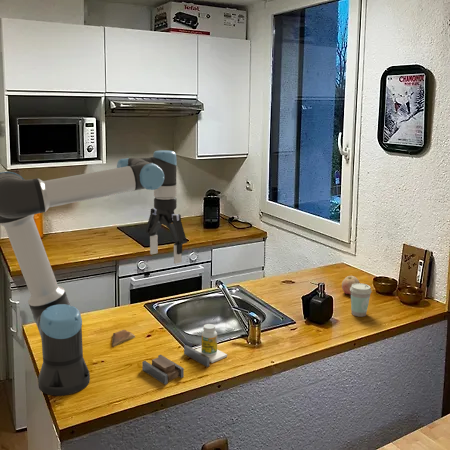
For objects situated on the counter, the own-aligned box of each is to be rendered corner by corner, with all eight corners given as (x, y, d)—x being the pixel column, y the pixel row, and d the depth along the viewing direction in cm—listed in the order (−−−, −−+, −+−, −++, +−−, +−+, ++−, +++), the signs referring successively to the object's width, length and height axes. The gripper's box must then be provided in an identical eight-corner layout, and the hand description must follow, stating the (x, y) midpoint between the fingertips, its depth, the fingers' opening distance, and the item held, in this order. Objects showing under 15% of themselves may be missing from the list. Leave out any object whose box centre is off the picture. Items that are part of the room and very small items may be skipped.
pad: (211, 363, 182) (211, 360, 182) (192, 352, 189) (192, 350, 189) (227, 356, 187) (227, 354, 187) (207, 346, 194) (207, 344, 194)
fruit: (337, 292, 249) (338, 275, 247) (351, 289, 253) (352, 273, 251) (349, 297, 243) (350, 280, 241) (362, 295, 246) (364, 278, 244)
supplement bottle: (218, 349, 190) (218, 323, 188) (215, 356, 185) (216, 330, 183) (202, 347, 191) (203, 322, 189) (200, 355, 186) (200, 328, 183)
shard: (112, 348, 192) (112, 344, 191) (98, 342, 196) (98, 337, 196) (135, 338, 200) (135, 334, 199) (122, 332, 205) (122, 328, 204)
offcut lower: (168, 382, 171) (168, 375, 170) (151, 371, 177) (151, 364, 176) (178, 378, 173) (178, 370, 173) (161, 367, 180) (161, 360, 179)
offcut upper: (164, 374, 171) (164, 368, 170) (151, 365, 176) (151, 359, 175) (175, 369, 173) (175, 364, 173) (162, 361, 178) (162, 356, 178)
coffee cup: (361, 319, 219) (363, 291, 216) (343, 313, 226) (346, 285, 223) (373, 314, 225) (376, 286, 222) (356, 308, 231) (358, 281, 228)
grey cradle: (164, 384, 168) (164, 375, 167) (142, 370, 177) (142, 361, 176) (209, 366, 180) (209, 357, 179) (186, 353, 189) (186, 345, 188)
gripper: (197, 201, 177) (197, 264, 182) (152, 190, 195) (153, 248, 200) (179, 204, 172) (179, 269, 177) (134, 192, 190) (136, 251, 195)
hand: (165, 258), depth 188 cm, fingers open, 13 cm apart
